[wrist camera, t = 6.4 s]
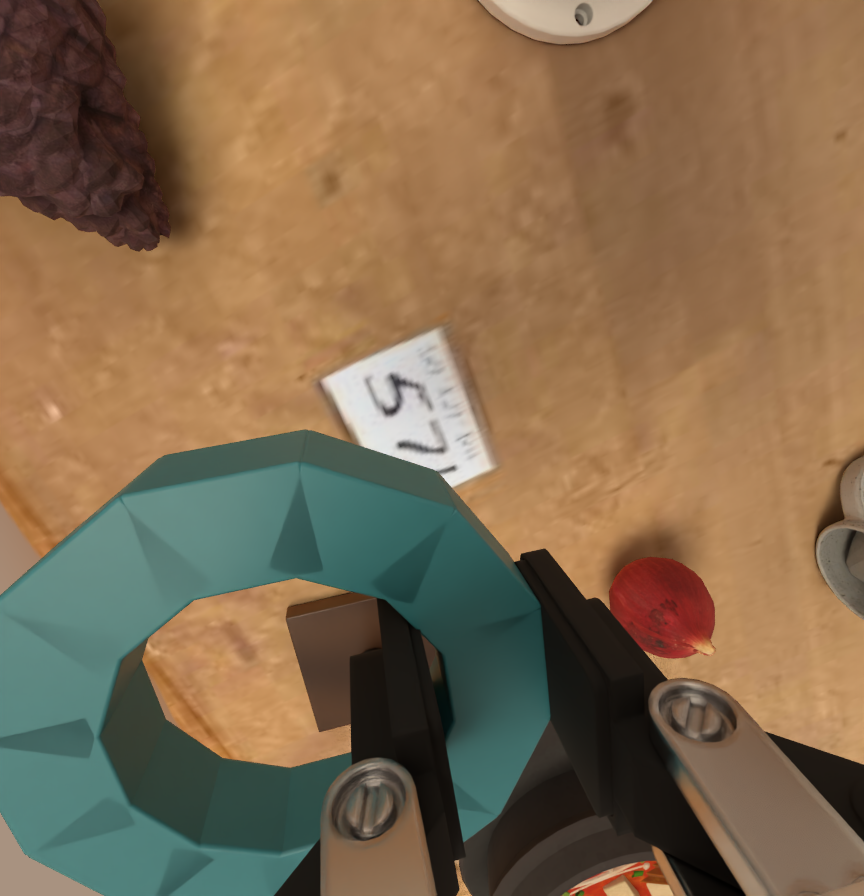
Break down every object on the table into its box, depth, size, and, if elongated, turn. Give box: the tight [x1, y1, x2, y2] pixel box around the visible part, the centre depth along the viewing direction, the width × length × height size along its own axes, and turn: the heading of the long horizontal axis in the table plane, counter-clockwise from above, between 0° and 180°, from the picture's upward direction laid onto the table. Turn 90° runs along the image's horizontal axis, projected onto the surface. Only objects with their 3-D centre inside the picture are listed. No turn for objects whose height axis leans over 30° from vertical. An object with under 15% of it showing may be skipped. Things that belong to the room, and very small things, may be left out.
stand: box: [286, 592, 436, 732], centre depth 28 cm, size 9×9×10 cm
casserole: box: [459, 721, 674, 896], centre depth 37 cm, size 25×19×8 cm
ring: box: [0, 430, 551, 896], centre depth 10 cm, size 10×10×2 cm
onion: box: [609, 557, 716, 658], centre depth 31 cm, size 6×6×8 cm
